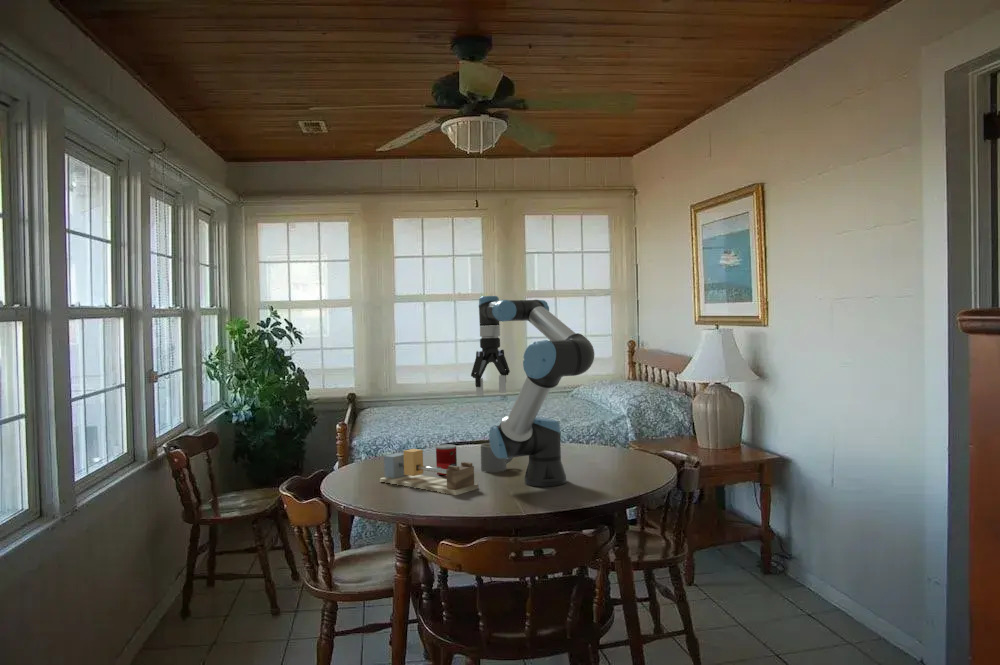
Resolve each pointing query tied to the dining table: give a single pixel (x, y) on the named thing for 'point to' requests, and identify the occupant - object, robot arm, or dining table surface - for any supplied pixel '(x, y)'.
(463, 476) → the rail board
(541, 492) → the dining table surface
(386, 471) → the block
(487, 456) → the coffee mug
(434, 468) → the rail rod
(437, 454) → the canned food
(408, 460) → the tan block with hole
